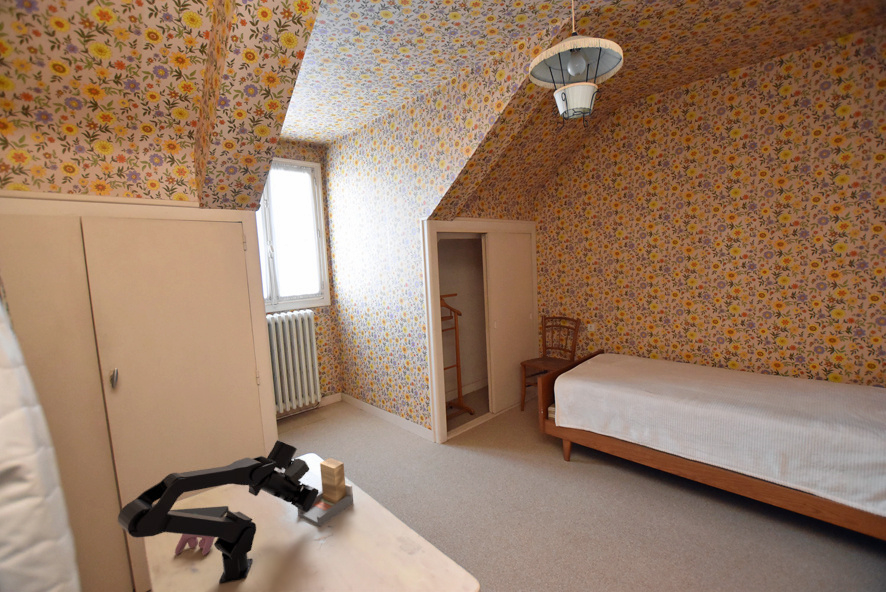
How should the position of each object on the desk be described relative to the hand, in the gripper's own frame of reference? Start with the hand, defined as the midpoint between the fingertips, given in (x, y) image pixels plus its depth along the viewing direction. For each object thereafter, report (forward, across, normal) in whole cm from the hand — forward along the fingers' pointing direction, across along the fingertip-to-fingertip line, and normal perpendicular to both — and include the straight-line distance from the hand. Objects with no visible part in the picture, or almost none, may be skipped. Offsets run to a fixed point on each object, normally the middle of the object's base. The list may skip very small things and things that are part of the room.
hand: (309, 499), depth 122 cm
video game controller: (-12, +19, +23) cm, 32 cm away
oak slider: (+10, 0, -3) cm, 11 cm away
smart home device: (-8, +35, +19) cm, 41 cm away
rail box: (+9, 0, 0) cm, 9 cm away
